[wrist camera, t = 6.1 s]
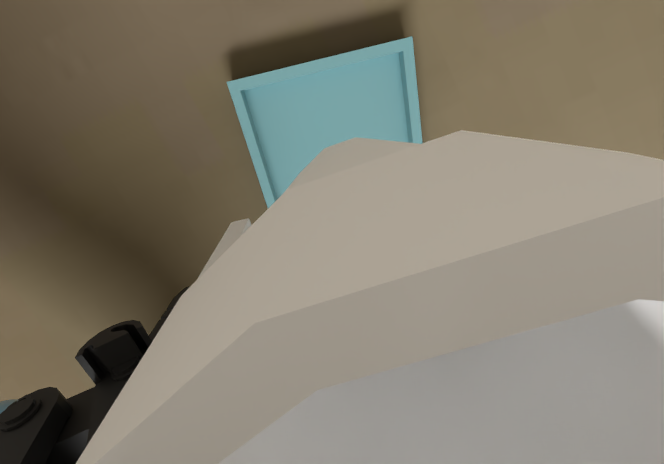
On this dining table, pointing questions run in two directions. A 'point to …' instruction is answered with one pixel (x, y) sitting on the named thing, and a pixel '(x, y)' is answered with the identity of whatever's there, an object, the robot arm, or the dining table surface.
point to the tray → (326, 108)
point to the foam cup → (420, 317)
